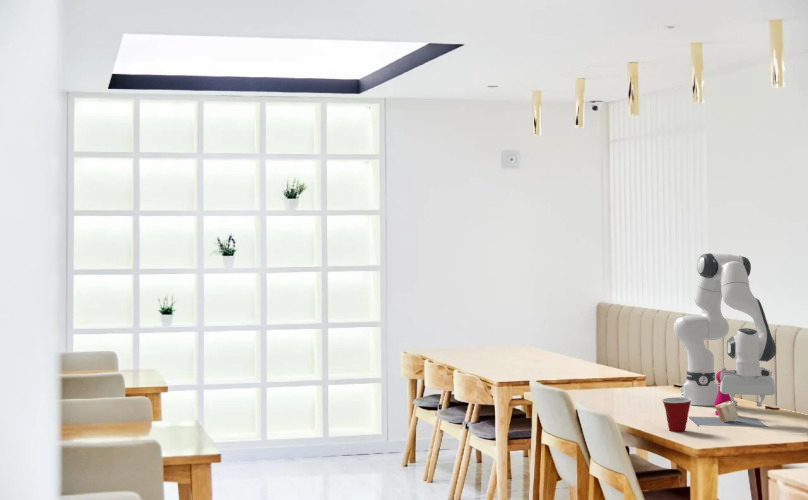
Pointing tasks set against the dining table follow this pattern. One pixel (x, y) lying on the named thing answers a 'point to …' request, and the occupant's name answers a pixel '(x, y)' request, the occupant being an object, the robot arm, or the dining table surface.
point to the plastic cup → (677, 412)
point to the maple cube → (727, 411)
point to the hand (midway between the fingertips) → (747, 406)
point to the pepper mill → (720, 397)
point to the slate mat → (736, 422)
